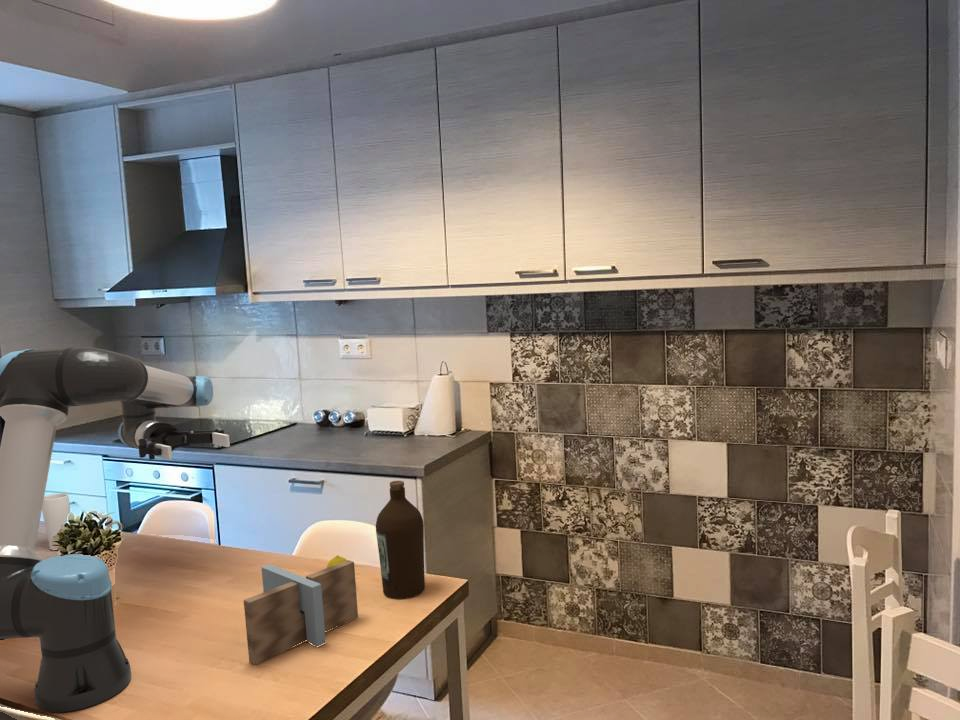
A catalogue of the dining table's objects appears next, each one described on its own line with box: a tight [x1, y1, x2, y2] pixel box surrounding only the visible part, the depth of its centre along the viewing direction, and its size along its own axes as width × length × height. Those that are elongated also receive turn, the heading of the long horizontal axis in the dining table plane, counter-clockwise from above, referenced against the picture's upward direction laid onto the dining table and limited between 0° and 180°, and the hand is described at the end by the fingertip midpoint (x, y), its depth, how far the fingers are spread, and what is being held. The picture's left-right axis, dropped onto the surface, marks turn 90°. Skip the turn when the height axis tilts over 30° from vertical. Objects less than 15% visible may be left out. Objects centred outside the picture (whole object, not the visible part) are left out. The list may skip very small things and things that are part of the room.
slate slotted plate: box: [261, 563, 327, 647], centre depth 148 cm, size 18×2×12 cm, turn 48°
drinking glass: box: [41, 492, 71, 549], centre depth 209 cm, size 7×7×15 cm
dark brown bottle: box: [375, 480, 426, 600], centre depth 166 cm, size 11×11×25 cm
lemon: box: [326, 555, 348, 568], centre depth 169 cm, size 6×6×8 cm
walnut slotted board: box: [243, 559, 359, 666], centre depth 146 cm, size 24×2×12 cm, turn 137°
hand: (199, 446), depth 165 cm, fingers open, 13 cm apart
